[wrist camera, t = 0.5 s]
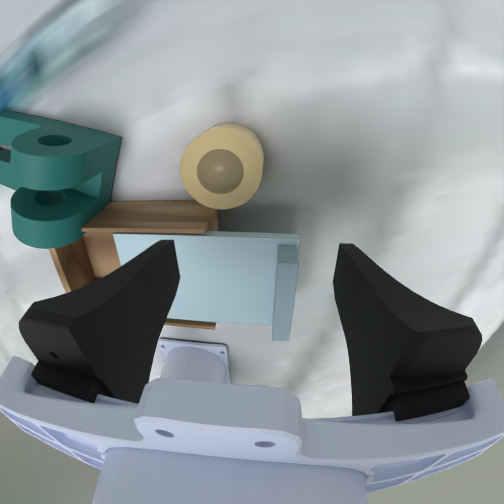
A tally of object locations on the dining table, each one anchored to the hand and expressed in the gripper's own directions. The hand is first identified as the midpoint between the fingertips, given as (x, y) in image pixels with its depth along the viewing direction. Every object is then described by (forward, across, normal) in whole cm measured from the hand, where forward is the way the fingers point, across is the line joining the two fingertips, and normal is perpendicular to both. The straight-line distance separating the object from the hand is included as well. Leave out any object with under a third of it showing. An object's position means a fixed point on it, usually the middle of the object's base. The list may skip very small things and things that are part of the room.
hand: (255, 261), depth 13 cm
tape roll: (+10, +2, -2) cm, 11 cm away
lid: (+6, +4, +6) cm, 10 cm away
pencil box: (+10, +11, +6) cm, 16 cm away
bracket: (+10, +20, -4) cm, 23 cm away
